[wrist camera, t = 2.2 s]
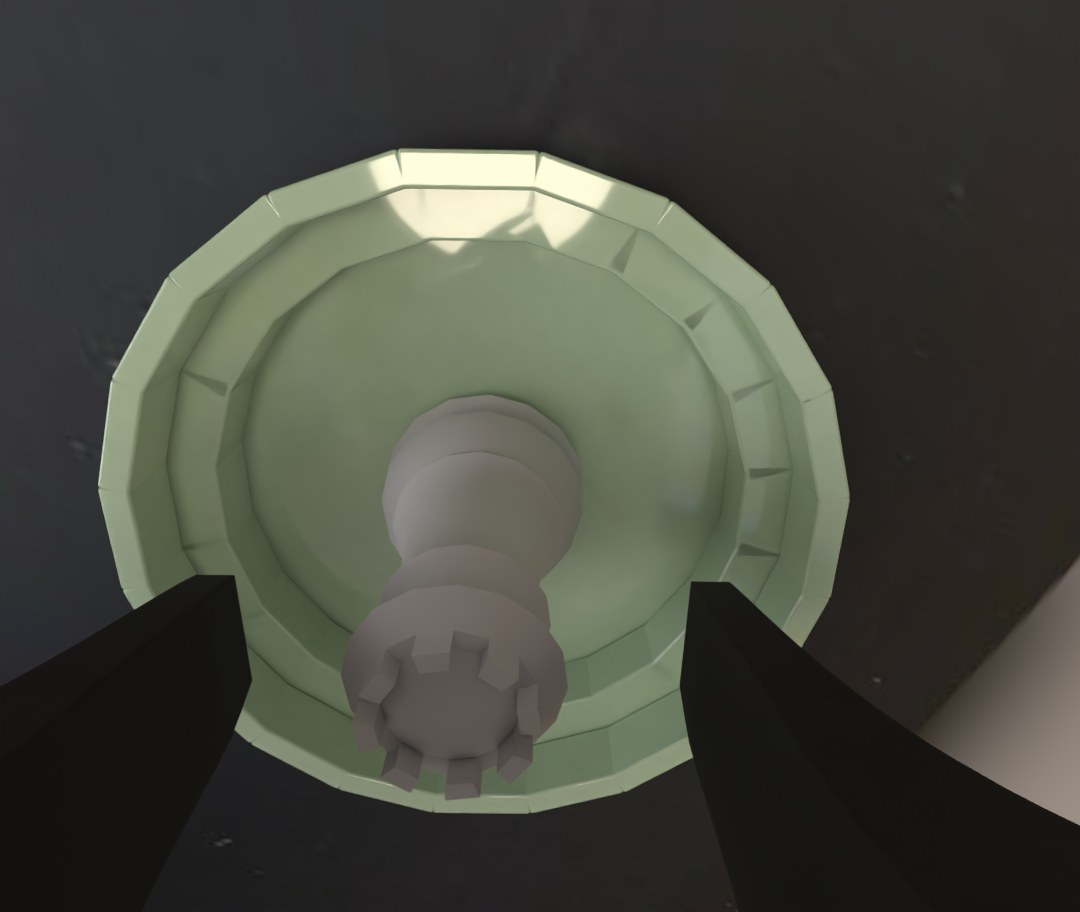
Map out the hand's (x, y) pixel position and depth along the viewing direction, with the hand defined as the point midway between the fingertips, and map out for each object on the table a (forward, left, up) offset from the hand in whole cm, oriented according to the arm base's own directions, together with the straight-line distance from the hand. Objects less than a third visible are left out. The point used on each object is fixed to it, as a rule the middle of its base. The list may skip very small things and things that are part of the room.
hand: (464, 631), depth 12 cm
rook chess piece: (0, 0, -6) cm, 6 cm away
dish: (0, 0, -6) cm, 6 cm away
